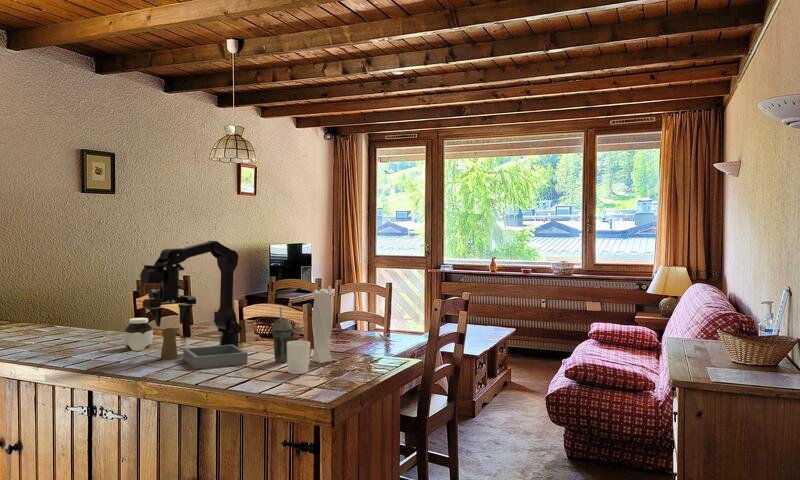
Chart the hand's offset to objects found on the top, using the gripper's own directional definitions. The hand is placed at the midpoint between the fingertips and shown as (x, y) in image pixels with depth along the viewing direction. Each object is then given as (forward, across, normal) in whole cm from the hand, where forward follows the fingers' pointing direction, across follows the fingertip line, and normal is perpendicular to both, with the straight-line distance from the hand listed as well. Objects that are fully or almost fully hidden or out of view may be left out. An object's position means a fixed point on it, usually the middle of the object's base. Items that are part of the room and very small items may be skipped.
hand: (169, 325), depth 213 cm
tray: (+12, -7, +18) cm, 23 cm away
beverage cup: (+12, -22, +36) cm, 44 cm away
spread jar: (+12, -2, -25) cm, 28 cm away
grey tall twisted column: (+12, -32, +47) cm, 58 cm away
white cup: (+12, -14, +52) cm, 56 cm away
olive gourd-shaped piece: (+12, 0, 0) cm, 12 cm away
